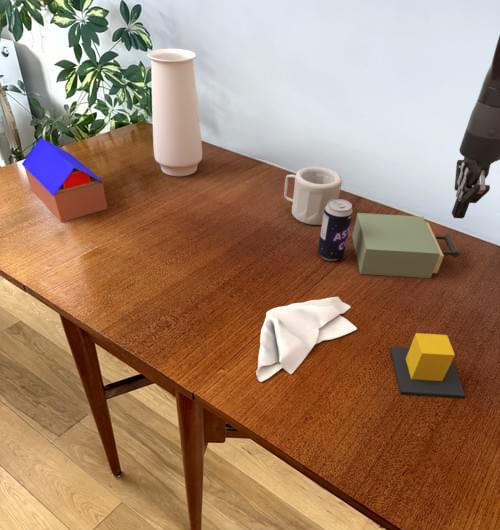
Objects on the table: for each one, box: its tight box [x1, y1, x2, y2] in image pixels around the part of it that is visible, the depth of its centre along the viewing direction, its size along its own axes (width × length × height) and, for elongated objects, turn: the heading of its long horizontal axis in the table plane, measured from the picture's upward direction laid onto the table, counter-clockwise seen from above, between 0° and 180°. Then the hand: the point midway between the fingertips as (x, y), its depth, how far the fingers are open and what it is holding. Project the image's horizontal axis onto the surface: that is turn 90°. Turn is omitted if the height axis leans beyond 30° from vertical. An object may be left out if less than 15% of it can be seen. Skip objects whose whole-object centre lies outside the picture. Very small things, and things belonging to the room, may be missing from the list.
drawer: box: [425, 221, 460, 274], centre depth 99 cm, size 18×13×4 cm
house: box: [21, 137, 108, 223], centre depth 110 cm, size 12×20×12 cm, turn 38°
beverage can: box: [317, 198, 354, 262], centre depth 96 cm, size 6×6×12 cm
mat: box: [389, 346, 466, 399], centre depth 76 cm, size 10×10×1 cm
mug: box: [283, 166, 343, 226], centre depth 110 cm, size 14×11×10 cm
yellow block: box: [406, 332, 456, 381], centre depth 74 cm, size 5×4×6 cm
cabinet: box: [351, 212, 440, 279], centre depth 99 cm, size 15×15×6 cm
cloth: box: [255, 296, 358, 383], centre depth 81 cm, size 26×14×2 cm, turn 130°
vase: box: [147, 48, 203, 177], centre depth 119 cm, size 13×13×28 cm
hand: (457, 216), depth 95 cm, fingers closed
